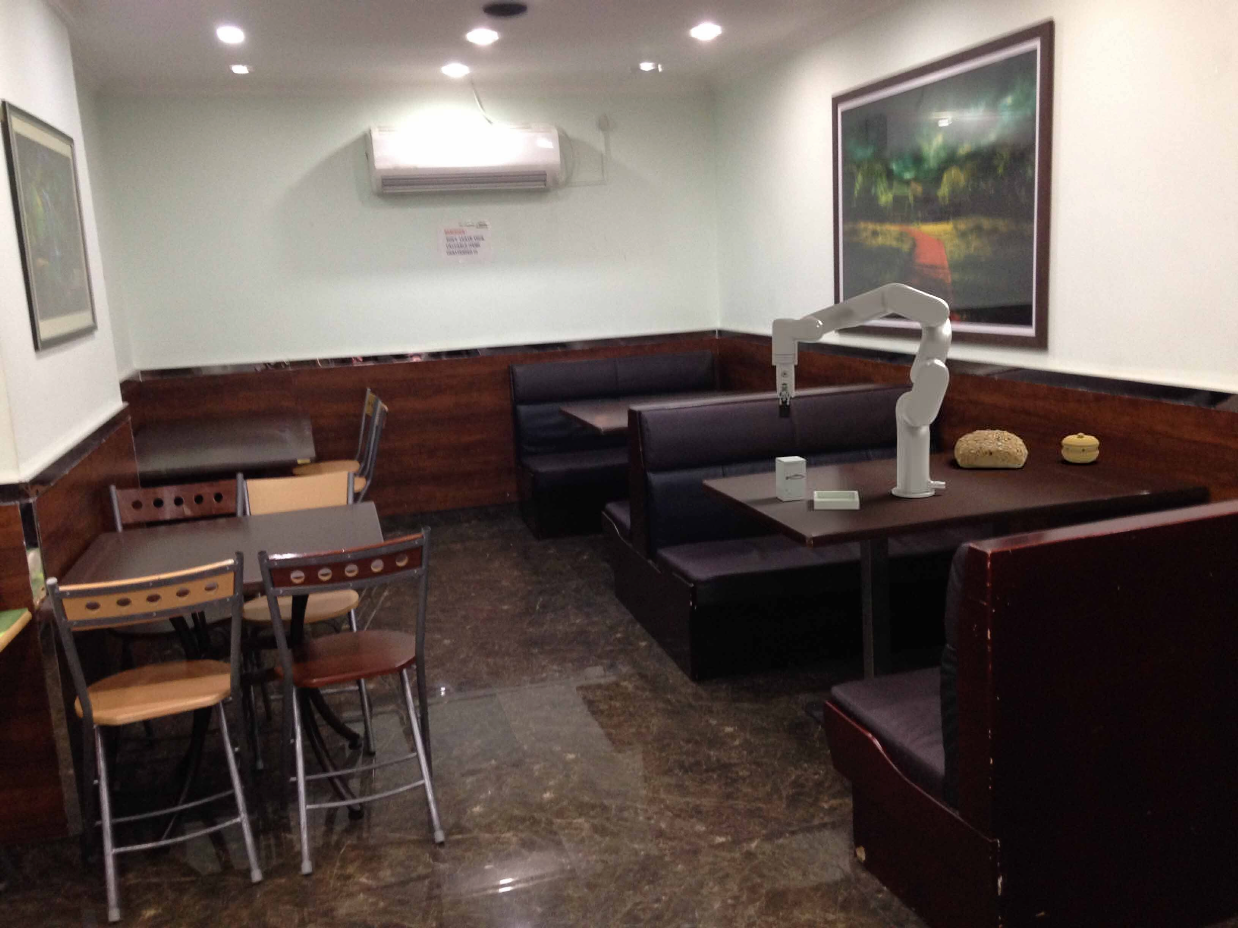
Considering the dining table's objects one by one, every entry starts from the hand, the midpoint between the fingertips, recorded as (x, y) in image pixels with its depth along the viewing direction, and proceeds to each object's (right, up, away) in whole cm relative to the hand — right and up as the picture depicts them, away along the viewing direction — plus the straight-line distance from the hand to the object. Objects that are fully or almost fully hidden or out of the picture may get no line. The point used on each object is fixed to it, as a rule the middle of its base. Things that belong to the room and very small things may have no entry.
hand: (784, 415), depth 317 cm
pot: (+106, -14, +36) cm, 113 cm away
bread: (+78, -15, +40) cm, 89 cm away
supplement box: (+3, -26, +5) cm, 26 cm away
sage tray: (+15, -27, -5) cm, 31 cm away
